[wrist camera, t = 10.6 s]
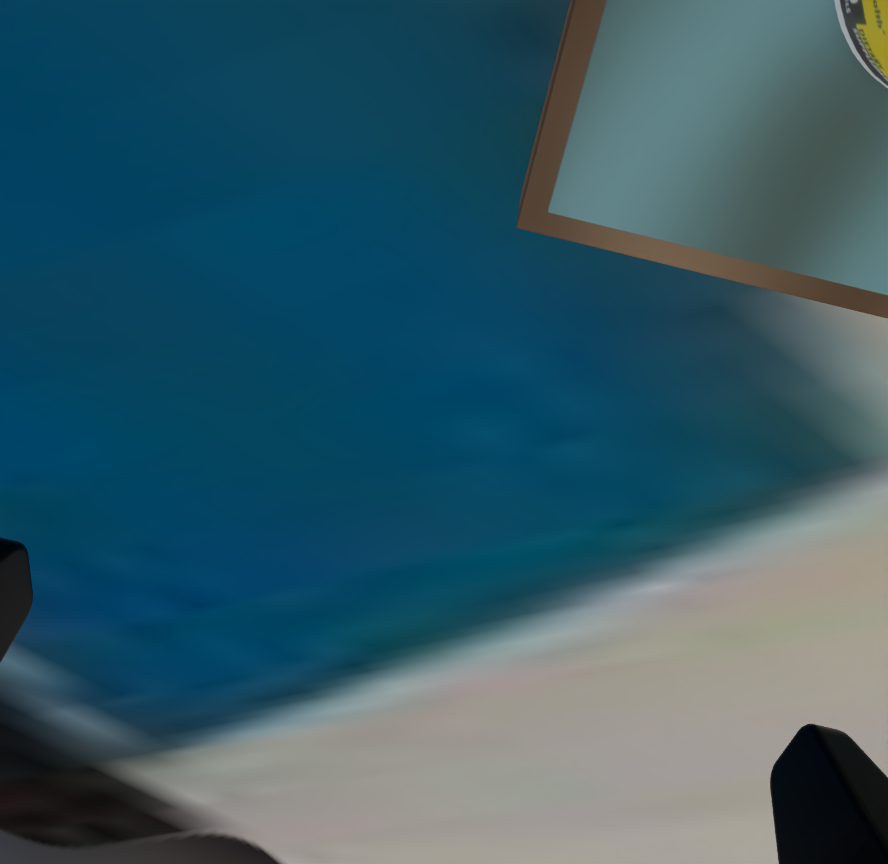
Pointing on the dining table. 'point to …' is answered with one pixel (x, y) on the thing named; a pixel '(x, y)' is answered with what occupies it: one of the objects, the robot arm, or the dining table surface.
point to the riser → (718, 145)
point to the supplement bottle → (867, 33)
